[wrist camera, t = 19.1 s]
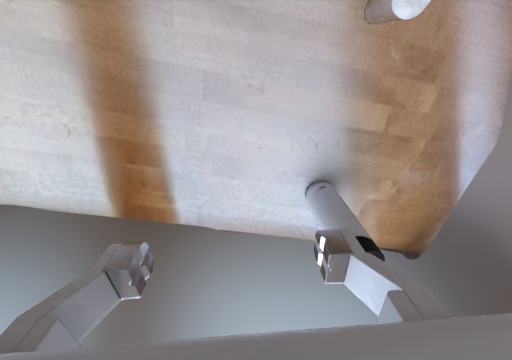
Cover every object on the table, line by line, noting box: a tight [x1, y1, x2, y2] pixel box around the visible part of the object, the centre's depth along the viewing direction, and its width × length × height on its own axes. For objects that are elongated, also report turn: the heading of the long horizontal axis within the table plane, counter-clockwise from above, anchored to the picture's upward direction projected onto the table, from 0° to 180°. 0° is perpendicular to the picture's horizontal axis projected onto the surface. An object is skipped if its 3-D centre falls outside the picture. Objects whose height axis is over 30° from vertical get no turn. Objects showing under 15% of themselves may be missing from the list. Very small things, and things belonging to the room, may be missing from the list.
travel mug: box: [305, 181, 385, 261], centre depth 37 cm, size 6×7×20 cm
